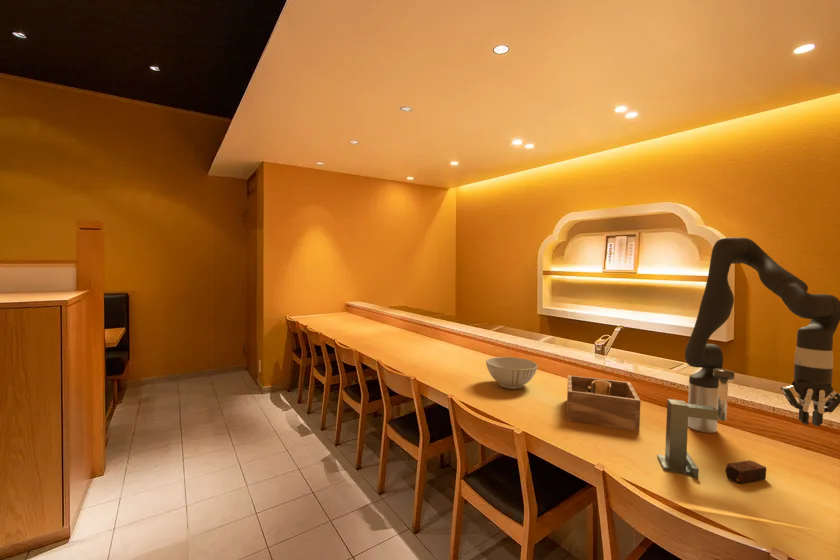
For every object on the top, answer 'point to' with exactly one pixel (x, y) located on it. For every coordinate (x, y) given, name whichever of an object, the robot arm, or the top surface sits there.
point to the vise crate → (603, 404)
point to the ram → (723, 390)
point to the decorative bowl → (511, 371)
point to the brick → (745, 471)
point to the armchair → (600, 387)
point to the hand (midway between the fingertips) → (810, 424)
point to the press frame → (682, 436)
